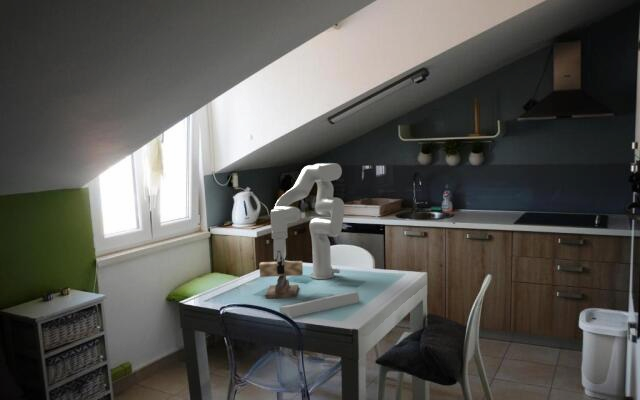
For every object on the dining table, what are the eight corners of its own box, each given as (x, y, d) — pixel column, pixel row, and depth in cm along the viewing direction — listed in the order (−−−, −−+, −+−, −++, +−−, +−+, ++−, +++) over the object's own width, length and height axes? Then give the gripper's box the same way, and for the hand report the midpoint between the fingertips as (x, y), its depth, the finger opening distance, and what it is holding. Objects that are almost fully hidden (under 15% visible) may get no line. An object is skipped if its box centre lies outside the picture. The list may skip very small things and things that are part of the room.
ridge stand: (298, 287, 257) (297, 271, 256) (295, 297, 241) (294, 280, 240) (270, 288, 257) (269, 272, 256) (265, 298, 241) (264, 281, 240)
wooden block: (302, 273, 250) (302, 260, 249) (302, 275, 245) (301, 263, 245) (261, 274, 251) (260, 262, 250) (260, 276, 246) (259, 264, 246)
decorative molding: (281, 318, 221) (290, 318, 213) (279, 307, 222) (288, 306, 213) (348, 303, 238) (359, 302, 229) (346, 292, 239) (357, 292, 230)
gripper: (274, 232, 254) (276, 268, 256) (269, 238, 238) (271, 277, 240) (289, 231, 254) (291, 268, 256) (285, 237, 237) (287, 276, 239)
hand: (281, 272), depth 248 cm, fingers closed on wooden block, 4 cm apart
